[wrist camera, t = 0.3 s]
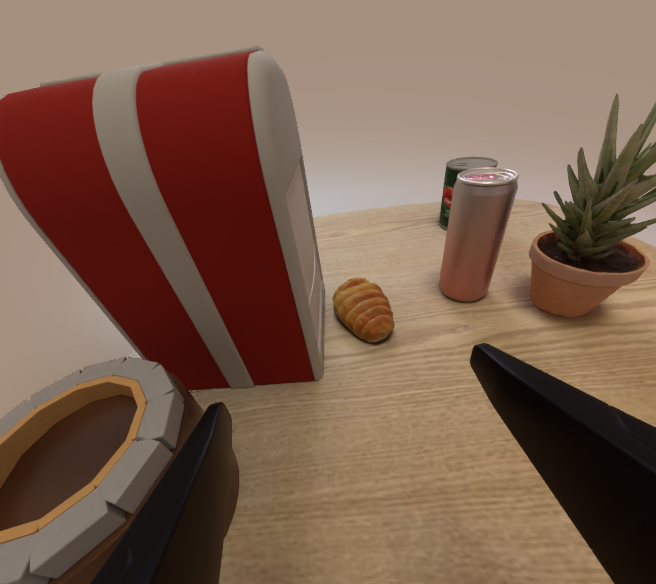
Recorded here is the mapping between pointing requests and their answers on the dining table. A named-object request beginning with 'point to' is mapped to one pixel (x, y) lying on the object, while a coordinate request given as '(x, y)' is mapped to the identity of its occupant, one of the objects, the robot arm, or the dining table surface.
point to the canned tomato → (451, 177)
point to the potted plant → (596, 227)
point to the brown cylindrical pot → (86, 470)
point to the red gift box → (179, 211)
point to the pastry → (364, 309)
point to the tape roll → (111, 482)
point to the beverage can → (476, 230)
